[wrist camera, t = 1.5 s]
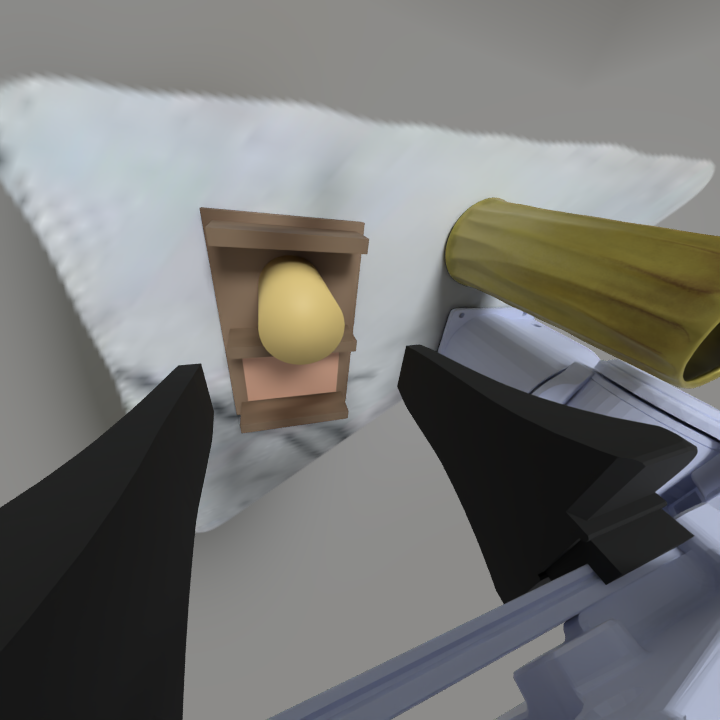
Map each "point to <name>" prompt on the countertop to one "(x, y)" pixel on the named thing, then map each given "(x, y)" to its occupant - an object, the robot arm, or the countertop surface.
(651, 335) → the vase
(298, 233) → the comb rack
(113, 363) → the countertop surface
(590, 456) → the robot arm
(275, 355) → the peg
